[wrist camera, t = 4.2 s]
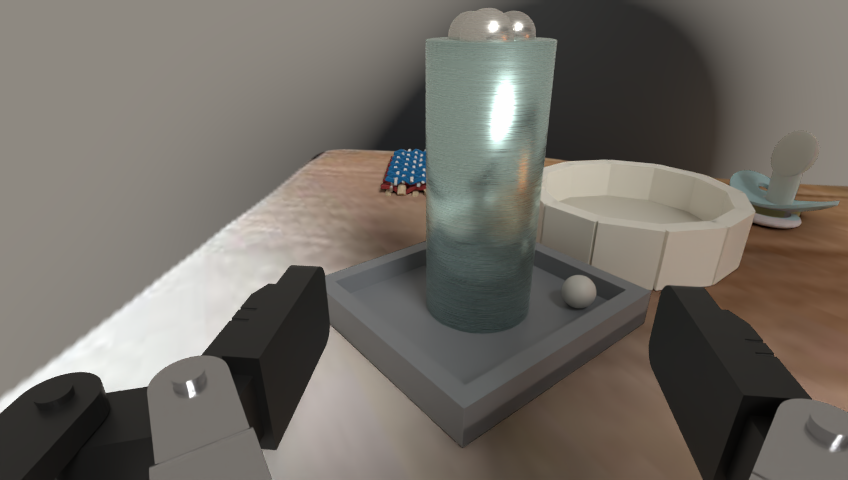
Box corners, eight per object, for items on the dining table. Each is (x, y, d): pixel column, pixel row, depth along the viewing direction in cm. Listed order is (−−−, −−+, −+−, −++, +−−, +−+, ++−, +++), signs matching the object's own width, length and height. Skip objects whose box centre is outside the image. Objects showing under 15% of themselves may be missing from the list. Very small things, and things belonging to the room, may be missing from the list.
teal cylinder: (478, 268, 27) (491, 8, 22) (550, 307, 24) (588, 7, 18) (405, 299, 24) (399, 8, 19) (475, 347, 21) (493, 7, 15)
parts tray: (484, 246, 32) (486, 208, 30) (644, 322, 24) (654, 276, 23) (316, 310, 25) (310, 265, 24) (462, 447, 17) (464, 389, 16)
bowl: (595, 192, 41) (601, 151, 39) (770, 244, 32) (786, 193, 30) (484, 232, 33) (486, 184, 32) (669, 316, 24) (685, 253, 23)
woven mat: (390, 166, 50) (389, 146, 49) (494, 166, 49) (495, 146, 49) (378, 202, 40) (377, 179, 40) (507, 203, 40) (508, 179, 39)
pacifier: (770, 241, 33) (843, 230, 34) (797, 149, 30) (876, 141, 31) (693, 203, 39) (757, 195, 40) (710, 125, 37) (778, 119, 38)
